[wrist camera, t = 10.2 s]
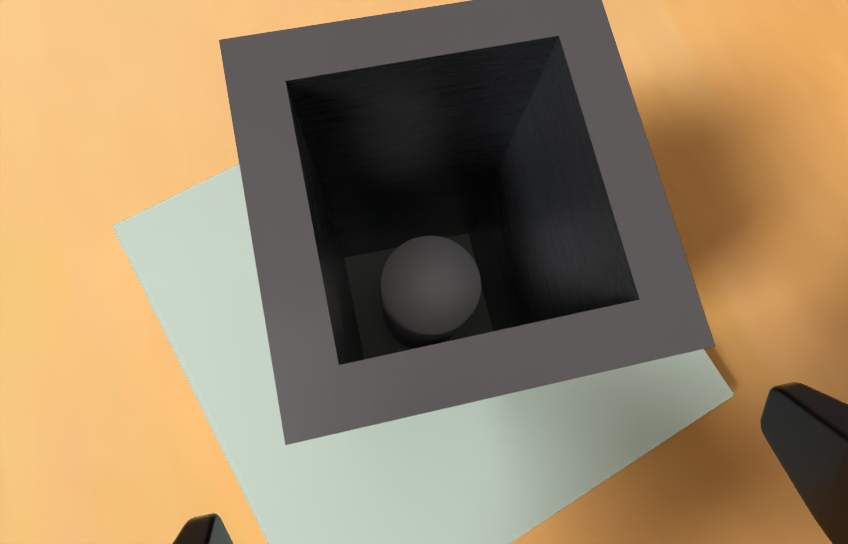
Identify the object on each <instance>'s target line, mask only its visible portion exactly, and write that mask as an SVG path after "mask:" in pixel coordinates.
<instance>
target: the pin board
mask: <svg viewBox="0 0 848 544" xmlns="http://www.w3.org/2000/svg"><path fill="white" fill-rule="evenodd" d="M113 228H114V230H115V233H116V235H117V237H118V239H119V241H120V243H121V245H122V247H123V249H124V251H125V253H126V255H127V257H128V259H129V261H130V263H131V265H132V267H133V269H134V271H135V273H136V275H137V277H138V279H139V281H140V283H141V286H142V288H143V290H144V292H145V294H146V296H147V298H148V300H149V302H150V304H151V306H152V308H153V310H154V312H155V314H156V316H157V318H158V320H159V322H160V324H161V326H162V328H163V330H164V332H165V334H166V336H167V339H168V341H169V343H170V345H171V347H172V349H173V351H174V353H175V355H176V357H177V359H178V361H179V363H180V365H181V367H182V369H183V371H184V373H185V375H186V377H187V379H188V381H189V383H190V385H191V387H192V389H193V391H194V394H195V396H196V398H197V400H198V402H199V404H200V406H201V408H202V410H203V412H204V414H205V416H206V418H207V420H208V422H209V424H210V426H211V428H212V430H213V432H214V434H215V436H216V438H217V440H218V442H219V444H220V447H221V449H222V451H223V453H224V455H225V457H226V459H227V461H228V463H229V465H230V467H231V469H232V471H233V473H234V475H235V477H236V479H237V481H238V483H239V485H240V487H241V489H242V491H243V493H244V495H245V497H246V500H247V502H248V504H249V506H250V508H251V510H252V512H253V514H254V516H255V518H256V520H257V522H258V524H259V526H260V528H261V530H262V532H263V534H264V536H265V538H266V540H267V542H268V544H510V543H511V542H513V541H514V540H516V539H517V538H519V537H520V536H522V535H523V534H525V533H526V532H528V531H529V530H531V529H532V528H534V527H535V526H537V525H538V524H540V523H542V522H543V521H545V520H546V519H548V518H549V517H551V516H552V515H554V514H555V513H557V512H558V511H560V510H561V509H563V508H564V507H566V506H567V505H569V504H570V503H572V502H573V501H575V500H576V499H578V498H579V497H581V496H582V495H584V494H585V493H587V492H588V491H590V490H591V489H593V488H594V487H596V486H598V485H599V484H601V483H602V482H604V481H605V480H607V479H608V478H610V477H611V476H613V475H614V474H616V473H617V472H619V471H620V470H622V469H623V468H625V467H626V466H628V465H629V464H631V463H632V462H634V461H635V460H637V459H638V458H640V457H641V456H643V455H644V454H646V453H647V452H649V451H650V450H652V449H653V448H655V447H657V446H658V445H660V444H661V443H663V442H664V441H666V440H667V439H669V438H670V437H672V436H673V435H675V434H676V433H678V432H679V431H681V430H682V429H684V428H685V427H687V426H688V425H690V424H691V423H693V422H694V421H696V420H697V419H699V418H700V417H702V416H703V415H705V414H706V413H708V412H709V411H711V410H713V409H714V408H716V407H717V406H719V405H720V404H722V403H723V402H725V401H726V400H728V399H729V398H731V397H732V396H734V394H733V392H732V391H731V389H730V388H729V386H728V385H727V383H726V382H725V380H724V379H723V377H722V376H721V374H720V373H719V371H718V370H717V368H716V367H715V365H714V364H713V362H712V361H711V359H710V358H709V356H708V355H707V353H706V352H705V350H704V349H701V350H697V351H693V352H688V353H684V354H680V355H675V356H671V357H666V358H662V359H658V360H653V361H649V362H645V363H640V364H636V365H632V366H627V367H623V368H619V369H614V370H610V371H606V372H601V373H597V374H593V375H588V376H584V377H580V378H575V379H571V380H567V381H562V382H558V383H554V384H549V385H545V386H541V387H536V388H532V389H528V390H523V391H519V392H515V393H510V394H506V395H502V396H497V397H493V398H489V399H484V400H480V401H476V402H471V403H467V404H462V405H458V406H454V407H449V408H445V409H441V410H436V411H432V412H428V413H423V414H419V415H415V416H410V417H406V418H402V419H397V420H393V421H389V422H384V423H380V424H376V425H371V426H367V427H363V428H358V429H354V430H350V431H345V432H341V433H337V434H332V435H328V436H324V437H319V438H315V439H311V440H306V441H302V442H298V443H293V444H289V445H285V440H284V434H283V428H282V422H281V416H280V410H279V404H278V397H277V391H276V385H275V379H274V373H273V367H272V361H271V355H270V348H269V342H268V336H267V330H266V324H265V318H264V312H263V306H262V299H261V293H260V287H259V281H258V275H257V269H256V263H255V257H254V250H253V244H252V238H251V232H250V226H249V220H248V214H247V207H246V201H245V195H244V189H243V183H242V177H241V171H240V165H239V164H238V165H236V166H234V167H232V168H230V169H227V170H225V171H223V172H221V173H219V174H217V175H215V176H213V177H211V178H209V179H207V180H205V181H203V182H201V183H199V184H197V185H195V186H193V187H191V188H189V189H187V190H185V191H183V192H181V193H179V194H176V195H174V196H172V197H170V198H168V199H166V200H164V201H162V202H160V203H158V204H156V205H154V206H152V207H150V208H148V209H146V210H144V211H142V212H140V213H138V214H136V215H134V216H132V217H130V218H128V219H125V220H123V221H121V222H119V223H117V224H115V225H113ZM345 263H346V268H347V273H348V279H349V284H350V289H351V294H352V299H353V304H354V309H355V314H356V319H357V324H358V329H359V334H360V339H361V344H362V349H363V354H364V360H365V359H369V358H374V357H379V356H383V355H388V354H392V353H397V352H402V351H406V350H411V349H415V348H420V347H424V346H429V345H434V344H438V343H443V342H447V341H452V340H457V339H461V338H466V337H470V336H475V335H479V334H484V333H489V332H493V329H492V325H491V321H490V317H489V313H488V309H487V305H486V301H485V297H484V293H483V289H482V285H481V278H480V273H479V270H478V267H477V265H476V261H475V257H474V253H473V249H472V245H471V241H470V236H469V233H467V234H462V235H457V236H452V237H447V238H444V237H439V236H421V237H417V238H414V239H411V240H409V241H407V242H405V243H403V244H402V245H400V246H399V247H397V248H392V249H387V250H382V251H377V252H372V253H367V254H362V255H357V256H352V257H347V258H345Z"/></svg>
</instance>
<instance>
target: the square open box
mask: <svg viewBox="0 0 848 544" xmlns="http://www.w3.org/2000/svg"><path fill="white" fill-rule="evenodd" d="M219 42H220V48H221V54H222V60H223V67H224V73H225V79H226V85H227V91H228V97H229V103H230V109H231V116H232V122H233V128H234V134H235V140H236V146H237V152H238V158H239V165H240V171H241V177H242V183H243V189H244V195H245V201H246V207H247V214H248V220H249V226H250V232H251V238H252V244H253V250H254V257H255V263H256V269H257V275H258V281H259V287H260V293H261V299H262V306H263V312H264V318H265V324H266V330H267V336H268V342H269V348H270V355H271V361H272V367H273V373H274V379H275V385H276V391H277V397H278V404H279V410H280V416H281V422H282V428H283V434H284V440H285V445H289V444H293V443H298V442H302V441H306V440H311V439H315V438H319V437H324V436H328V435H332V434H337V433H341V432H345V431H350V430H354V429H358V428H363V427H367V426H371V425H376V424H380V423H384V422H389V421H393V420H397V419H402V418H406V417H410V416H415V415H419V414H423V413H428V412H432V411H436V410H441V409H445V408H449V407H454V406H458V405H462V404H467V403H471V402H476V401H480V400H484V399H489V398H493V397H497V396H502V395H506V394H510V393H515V392H519V391H523V390H528V389H532V388H536V387H541V386H545V385H549V384H554V383H558V382H562V381H567V380H571V379H575V378H580V377H584V376H588V375H593V374H597V373H601V372H606V371H610V370H614V369H619V368H623V367H627V366H632V365H636V364H640V363H645V362H649V361H653V360H658V359H662V358H666V357H671V356H675V355H680V354H684V353H688V352H693V351H697V350H701V349H706V348H710V347H714V346H715V344H714V341H713V338H712V335H711V332H710V329H709V326H708V323H707V320H706V316H705V313H704V310H703V307H702V304H701V301H700V298H699V295H698V292H697V289H696V286H695V283H694V280H693V277H692V274H691V271H690V268H689V265H688V262H687V259H686V256H685V253H684V249H683V246H682V243H681V240H680V237H679V234H678V231H677V228H676V225H675V222H674V219H673V216H672V213H671V210H670V207H669V204H668V201H667V198H666V195H665V192H664V189H663V186H662V183H661V179H660V176H659V173H658V170H657V167H656V164H655V161H654V158H653V155H652V152H651V149H650V146H649V143H648V140H647V137H646V134H645V131H644V128H643V125H642V122H641V119H640V116H639V112H638V109H637V106H636V103H635V100H634V97H633V94H632V91H631V88H630V85H629V82H628V79H627V76H626V73H625V70H624V67H623V64H622V61H621V58H620V55H619V52H618V49H617V46H616V42H615V39H614V36H613V33H612V30H611V27H610V24H609V21H608V18H607V15H606V12H605V9H604V6H603V3H602V0H472V1H465V2H459V3H452V4H446V5H440V6H433V7H427V8H420V9H414V10H408V11H401V12H395V13H388V14H382V15H376V16H369V17H363V18H357V19H350V20H344V21H337V22H331V23H325V24H318V25H312V26H305V27H299V28H293V29H286V30H280V31H273V32H267V33H261V34H254V35H248V36H241V37H235V38H229V39H222V40H219ZM467 233H469V236H470V241H471V245H472V249H473V253H474V257H475V261H476V265H477V267H478V270H479V273H480V278H481V285H482V289H483V293H484V297H485V301H486V305H487V309H488V313H489V317H490V321H491V325H492V329H493V332H489V333H484V334H479V335H475V336H470V337H466V338H461V339H457V340H452V341H447V342H443V343H438V344H434V345H429V346H424V347H420V348H415V349H411V350H406V351H402V352H397V353H392V354H388V355H383V356H379V357H374V358H369V359H365V360H364V354H363V349H362V344H361V339H360V334H359V329H358V324H357V319H356V314H355V309H354V304H353V299H352V294H351V289H350V284H349V279H348V273H347V268H346V263H345V258H347V257H352V256H357V255H362V254H367V253H372V252H377V251H382V250H387V249H392V248H397V247H399V246H400V245H402V244H403V243H405V242H407V241H409V240H411V239H414V238H417V237H421V236H439V237H444V238H447V237H452V236H457V235H462V234H467Z"/></svg>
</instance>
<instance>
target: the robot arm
mask: <svg viewBox="0 0 848 544" xmlns="http://www.w3.org/2000/svg"><path fill="white" fill-rule="evenodd" d="M761 429H762V432H763V434H764V436H765V438H766V440H767V441H768V443H769V445H770V446H771V448H772V450H773V451H774V453H775V455H776V456H777V458H778V460H779V461H780V463H781V465H782V466H783V468H784V470H785V471H786V473H787V474H788V476H789V478H790V479H791V481H792V483H793V484H794V486H795V488H796V489H797V491H798V493H799V494H800V496H801V498H802V499H803V501H804V503H805V504H806V506H807V507H808V509H809V511H810V512H811V514H812V515H813V517H814V518H815V520H816V521H817V523H818V524H819V526H820V527H821V528H822V530H823V531H824V533H825V534H826V535H827V537H828V538H829V539H830V541H831V542H832V544H848V404H846V403H844V402H841V401H839V400H837V399H835V398H833V397H830V396H828V395H826V394H824V393H822V392H819V391H817V390H815V389H813V388H811V387H808V386H806V385H804V384H801V383H796V382H793V383H787V384H783V385H779V386H775V387H773V388H772V389H771V390H770V391H769V394H768V397H767V400H766V404H765V407H764V410H763V414H762V417H761ZM173 544H233V542H232V540H231V538H230V536H229V534H228V532H227V530H226V528H225V526H224V524H223V522H222V520H221V518H220V517H219V515H217V514H215V513H213V514H208V515H203V516H199V517H194V518H192V519H190V520H189V521H187V523H186V524H185V525H184V526H183V528H182V530H181V531H180V533H179V534H178V536H177V537H176V539H175V541H174V542H173Z"/></svg>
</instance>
